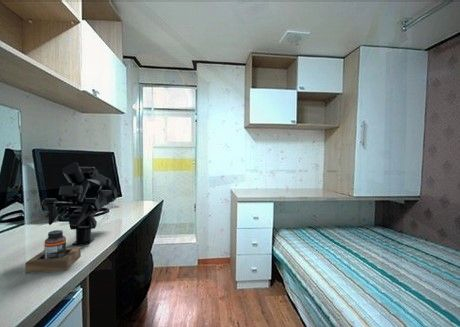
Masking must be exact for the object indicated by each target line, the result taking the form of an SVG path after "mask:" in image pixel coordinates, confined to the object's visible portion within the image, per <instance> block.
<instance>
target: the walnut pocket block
mask: <svg viewBox="0 0 460 327" xmlns="http://www.w3.org/2000/svg"><path fill="white" fill-rule="evenodd" d="M81 249H82V248H81V246H76V247H66V255H65V256H64V257H63V258H51V259H44V258H45V257H44V256H45V255H44V253H45V252H44V250H42V251H40V252H38V254H36V255H35V256H33V257H31V258H30V259H29V260H27V261H26V262H25V267H24V268H25V271H24V273H25V275H27V274H40V273H51V272H52V273H53V272H61V271H62V272H66V271H68V270H69V269H70V268H71V267H72V266H73V265H74V264H75V263H76V262H77V261H78V260H79V259H80V258H81V257H82V256H81V254H82V253H81V252H82V251H81Z"/></svg>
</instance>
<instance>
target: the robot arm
mask: <svg viewBox="0 0 460 327" xmlns="http://www.w3.org/2000/svg"><path fill="white" fill-rule="evenodd" d="M61 172H62V174H63V175H64V177H65V179H67V180H66V181H68V183H70V184H72V185H61V186H60V188H59V191H58V196H62V197H61V199H62V200H63V201H59V200H58V199H57V198H44V199H43V200H42V202H41V206H42V207H43V208H44V209H45V211H46V212H47V213H48V225H49V226H52V225H53V223H54V222H55V219H56V218H57V217H58V215H59V212H60V210H61V208H71V209H72V208H75V210H73V211H72V213H71V214H70V215H69V217H68V224H69V229H70V230H75V241H74V242H73V243H72V246H74V245H75V246H80V245H90V244H91V243H92V242H93V241H94V240H95V238H94V237H92V230H93V229H96V227H97V224H98V221H97V220H96V219H95V215H96V214H97V213H99V211H100V210H102V208H103V207H104V206H106V205H107V204H110V203H113V202H115V200H117V198H118V190H117V188H116V186H115V185H114V184H113V182H112V179H111V178H108V177H106V176H104V175H103V174H100V173H99V170H98V169H97V168H96V167H95V166H80V165H79V163H78V162H72V163H71V164H68V165H66V166H64V167H63V168H62V171H61ZM90 182H92V183H95V184H97V185H98V189H97V191H96V192H97V196H98V197H97V198H96V197H94V198H93V197H91V198H90V197H89V198H88V197H87V196H86V194H87V192H88V189H91V185H90ZM102 187H108V189H105V190H104V189H102ZM83 200H84V201H83Z"/></svg>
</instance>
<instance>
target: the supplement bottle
mask: <svg viewBox="0 0 460 327" xmlns="http://www.w3.org/2000/svg"><path fill="white" fill-rule="evenodd" d="M63 233H64V232H63V230H62V229H60V230H59V229H56V230H51V231H49V232H48V234H47V238H46V239H45V240H44V244H43V245H44V249H43V251H44V252H45V253H44V255H45V256H44V257H45V258H44V259H51V258H63V257H64V256H65V255H66V248H67V238H66V236H64V234H63Z"/></svg>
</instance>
